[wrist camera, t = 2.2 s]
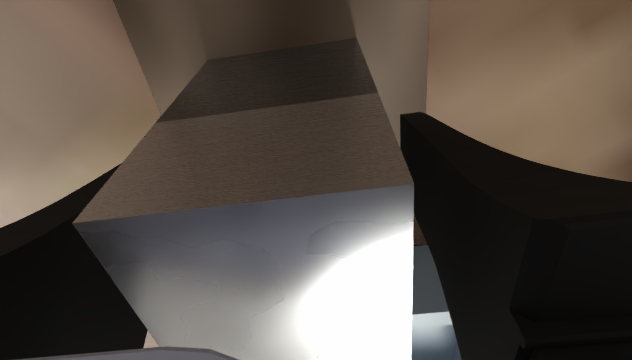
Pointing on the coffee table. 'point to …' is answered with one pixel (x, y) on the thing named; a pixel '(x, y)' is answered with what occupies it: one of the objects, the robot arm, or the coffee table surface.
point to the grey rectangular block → (266, 213)
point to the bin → (430, 312)
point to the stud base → (281, 40)
